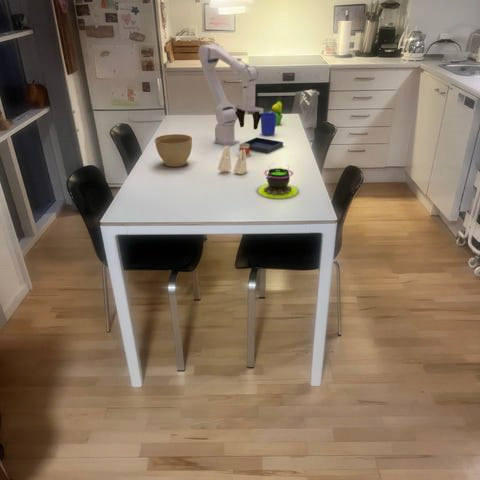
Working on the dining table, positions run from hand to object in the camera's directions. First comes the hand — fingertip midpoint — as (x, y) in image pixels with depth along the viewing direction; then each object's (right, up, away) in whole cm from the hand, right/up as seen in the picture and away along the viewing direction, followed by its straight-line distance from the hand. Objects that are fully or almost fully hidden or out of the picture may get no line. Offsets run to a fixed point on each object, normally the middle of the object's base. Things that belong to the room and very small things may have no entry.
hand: (248, 127), depth 225 cm
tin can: (-2, -15, -4) cm, 15 cm away
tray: (+6, -7, +6) cm, 11 cm away
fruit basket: (+15, +21, +45) cm, 52 cm away
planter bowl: (-33, -22, -14) cm, 42 cm away
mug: (+11, +8, +27) cm, 30 cm away
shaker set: (-7, -29, -24) cm, 38 cm away
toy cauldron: (+10, -41, -41) cm, 59 cm away
